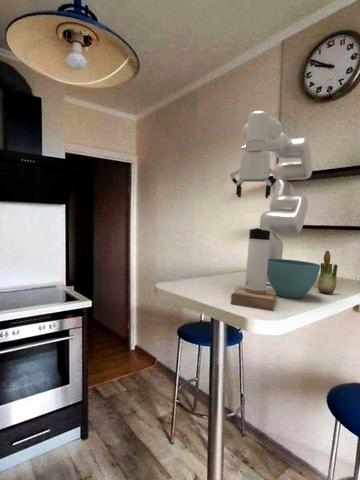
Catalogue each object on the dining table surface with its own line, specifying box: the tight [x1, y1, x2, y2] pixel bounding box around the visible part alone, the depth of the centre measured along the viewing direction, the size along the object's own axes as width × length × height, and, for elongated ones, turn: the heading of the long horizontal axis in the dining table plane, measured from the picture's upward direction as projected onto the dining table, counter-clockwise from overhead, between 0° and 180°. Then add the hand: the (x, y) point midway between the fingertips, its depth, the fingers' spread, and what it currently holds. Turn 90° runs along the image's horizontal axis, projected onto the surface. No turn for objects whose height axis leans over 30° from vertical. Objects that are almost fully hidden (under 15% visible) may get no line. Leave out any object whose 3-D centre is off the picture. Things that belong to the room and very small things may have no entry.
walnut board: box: [230, 285, 277, 312], centre depth 90 cm, size 14×12×3 cm
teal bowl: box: [267, 258, 321, 299], centre depth 103 cm, size 18×18×12 cm
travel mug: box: [244, 227, 270, 294], centre depth 90 cm, size 6×7×20 cm
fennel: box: [314, 250, 337, 289], centre depth 125 cm, size 8×8×16 cm
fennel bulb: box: [317, 262, 339, 295], centre depth 111 cm, size 6×5×12 cm
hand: (252, 197), depth 103 cm, fingers open, 9 cm apart
